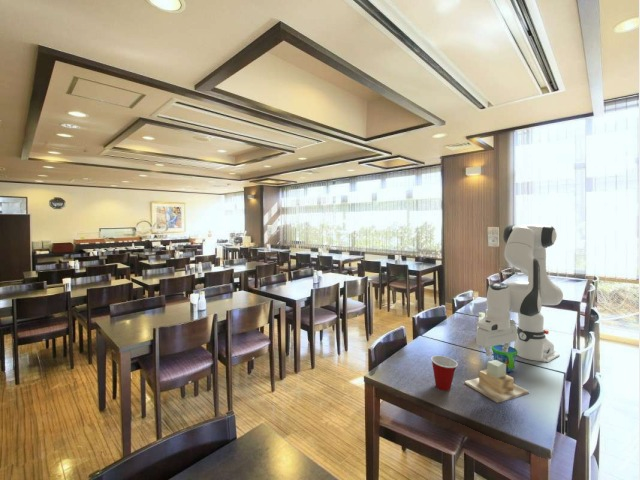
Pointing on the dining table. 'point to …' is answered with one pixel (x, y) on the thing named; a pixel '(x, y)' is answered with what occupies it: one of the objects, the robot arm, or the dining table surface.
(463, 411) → the dining table surface
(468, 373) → the dining table surface
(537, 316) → the robot arm
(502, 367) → the sage cube
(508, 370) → the snack cup
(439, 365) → the plastic cup
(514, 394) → the foundation base
